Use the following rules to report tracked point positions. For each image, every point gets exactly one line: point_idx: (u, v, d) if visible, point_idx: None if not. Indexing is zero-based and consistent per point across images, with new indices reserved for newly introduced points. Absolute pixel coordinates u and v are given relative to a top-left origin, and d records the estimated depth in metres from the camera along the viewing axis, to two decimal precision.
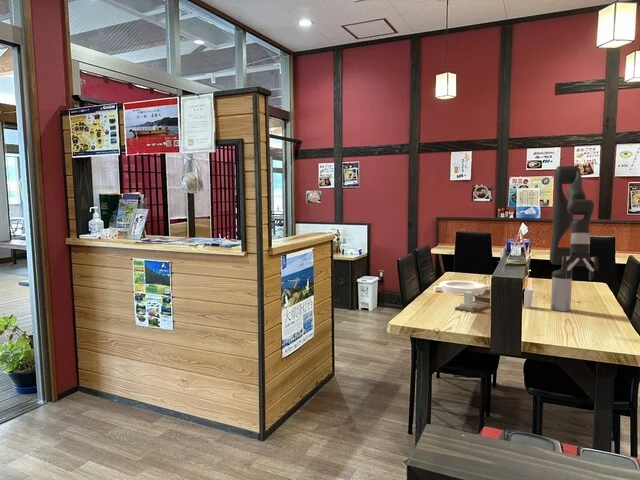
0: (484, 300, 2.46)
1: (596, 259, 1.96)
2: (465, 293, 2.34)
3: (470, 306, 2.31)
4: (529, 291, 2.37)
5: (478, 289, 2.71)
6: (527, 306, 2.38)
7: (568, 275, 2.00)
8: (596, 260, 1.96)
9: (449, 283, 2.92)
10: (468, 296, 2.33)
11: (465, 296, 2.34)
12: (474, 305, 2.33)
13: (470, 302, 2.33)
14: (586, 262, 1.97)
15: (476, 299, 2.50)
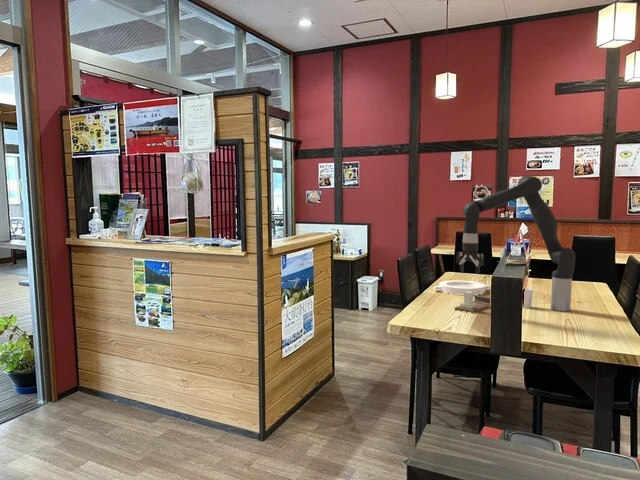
0: (484, 300, 2.46)
1: (480, 256, 2.27)
2: (465, 293, 2.34)
3: (470, 306, 2.31)
4: (529, 291, 2.37)
5: (478, 289, 2.71)
6: (527, 306, 2.38)
7: None
8: (480, 257, 2.27)
9: (449, 283, 2.92)
10: (468, 296, 2.33)
11: (465, 296, 2.34)
12: (474, 305, 2.33)
13: (470, 302, 2.33)
14: (472, 258, 2.30)
15: (476, 299, 2.50)
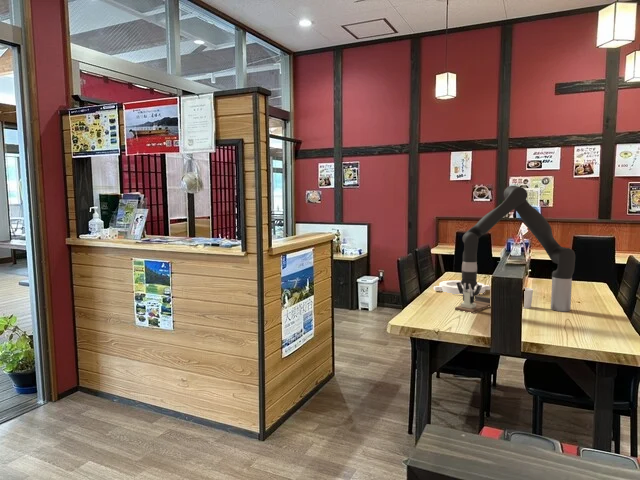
0: (484, 300, 2.46)
1: (478, 287, 2.29)
2: (465, 293, 2.34)
3: (470, 306, 2.31)
4: (529, 291, 2.37)
5: None
6: (527, 306, 2.38)
7: None
8: (477, 288, 2.29)
9: (449, 283, 2.92)
10: (468, 296, 2.33)
11: (465, 296, 2.34)
12: (474, 305, 2.33)
13: None
14: (470, 287, 2.32)
15: (476, 299, 2.50)
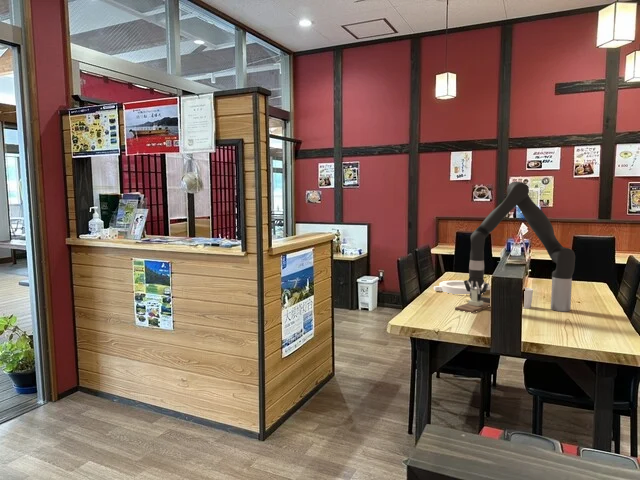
0: (484, 300, 2.46)
1: (485, 285, 2.35)
2: (472, 291, 2.39)
3: (477, 304, 2.37)
4: (529, 291, 2.37)
5: None
6: (527, 306, 2.38)
7: None
8: (484, 286, 2.35)
9: (449, 283, 2.92)
10: (475, 294, 2.38)
11: (472, 294, 2.39)
12: (481, 303, 2.39)
13: None
14: (477, 285, 2.37)
15: None
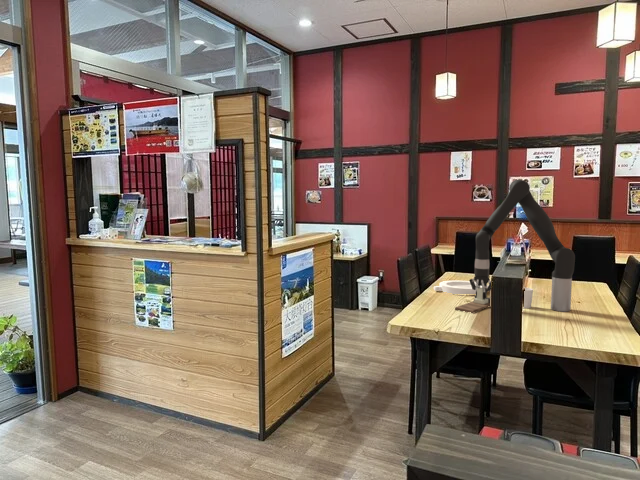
0: None
1: (490, 284, 2.39)
2: (478, 289, 2.43)
3: (483, 302, 2.41)
4: (529, 291, 2.37)
5: None
6: (527, 306, 2.38)
7: (476, 295, 2.46)
8: (490, 284, 2.39)
9: (449, 283, 2.92)
10: (480, 292, 2.42)
11: (478, 292, 2.44)
12: (486, 301, 2.43)
13: None
14: (482, 283, 2.42)
15: None
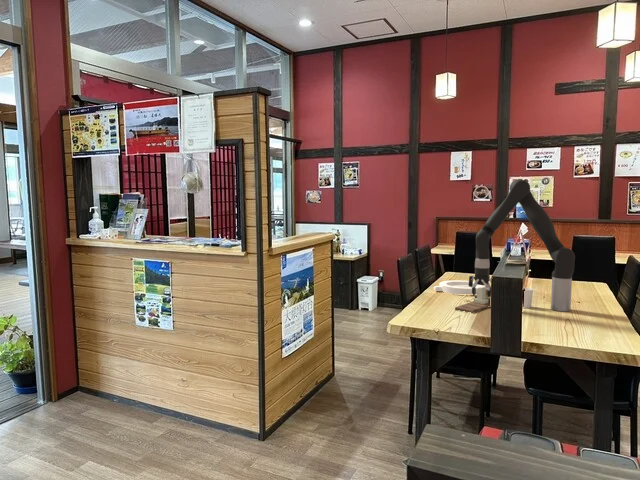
0: None
1: None
2: (478, 289, 2.44)
3: (483, 302, 2.41)
4: (529, 291, 2.37)
5: None
6: (527, 306, 2.38)
7: (472, 291, 2.47)
8: None
9: (449, 283, 2.92)
10: (481, 292, 2.42)
11: (478, 292, 2.44)
12: (487, 301, 2.43)
13: (483, 298, 2.43)
14: (484, 282, 2.41)
15: None
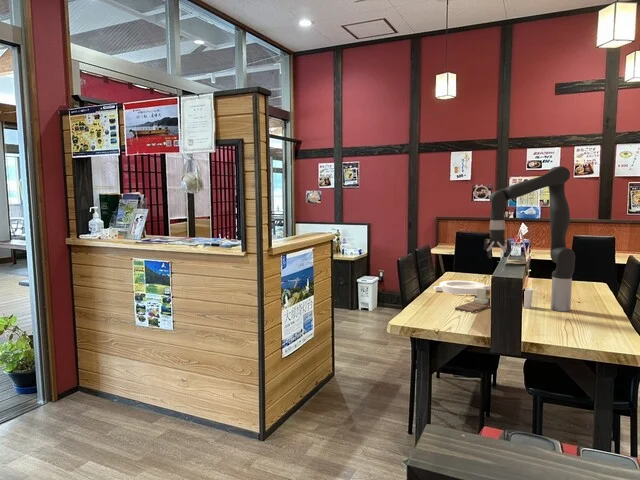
0: None
1: (507, 242, 2.33)
2: (478, 289, 2.44)
3: (483, 302, 2.41)
4: (529, 291, 2.37)
5: None
6: (527, 306, 2.38)
7: (488, 255, 2.42)
8: (507, 243, 2.33)
9: (449, 283, 2.92)
10: (481, 292, 2.42)
11: (478, 292, 2.44)
12: (487, 301, 2.43)
13: (483, 298, 2.43)
14: (499, 244, 2.36)
15: None
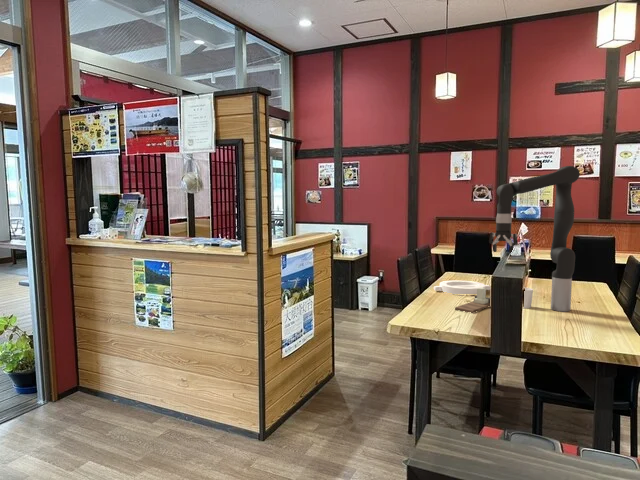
0: None
1: (514, 236, 2.31)
2: (478, 289, 2.44)
3: (483, 302, 2.41)
4: (529, 291, 2.37)
5: None
6: (527, 306, 2.38)
7: (493, 248, 2.40)
8: (514, 236, 2.31)
9: (449, 283, 2.92)
10: (481, 292, 2.42)
11: (478, 292, 2.44)
12: (487, 301, 2.43)
13: (483, 298, 2.43)
14: (506, 238, 2.34)
15: None
